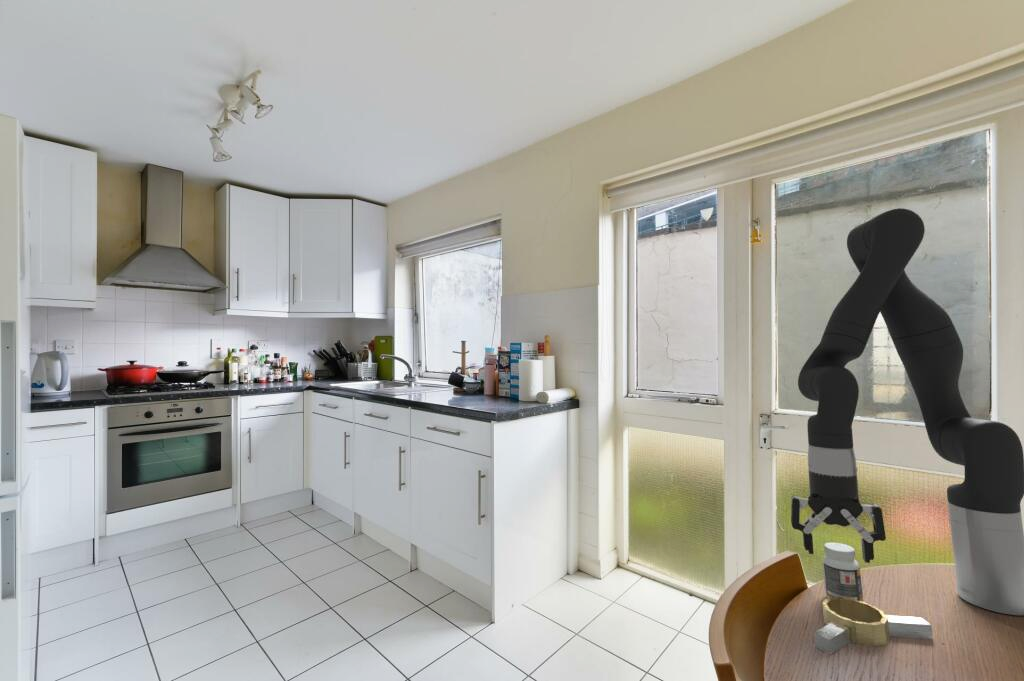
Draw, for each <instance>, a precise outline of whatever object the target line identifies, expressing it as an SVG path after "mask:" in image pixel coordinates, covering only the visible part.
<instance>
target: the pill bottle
mask: <svg viewBox="0 0 1024 681" xmlns="http://www.w3.org/2000/svg"><path fill="white" fill-rule="evenodd" d="M823 550H824V553H825V554H826V555H824V556H823V557H822V567H823V569H822V571H823V580H824V581H823V582H824V591H825V596H826V598H832V597H844V598H852V599H856V600H859V601H862V602H864V595H863V594H864V593H863V587H862V577H861V576H862V575H861V567H860V563H859V562H858V561H857V560H856V559H855V558H856V550H855V548H854V547H853V546H850V545H848V544H845V543H839V542H834V541H833V542H830V541H829V542H825V543H824V546H823Z"/></svg>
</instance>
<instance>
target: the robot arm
mask: <svg viewBox="0 0 1024 681" xmlns="http://www.w3.org/2000/svg"><path fill="white" fill-rule="evenodd" d="M925 230H926V229H925V223H924V221H923V219H922V218H921V216H920V215H919V214H918V213H917V212H915V211H914V210H912V209H909V208H900V207H899V208H892V209H888V210H886V211H883V212H881V213H878V214H877V215H874V216H872V217H871V218H869V219H867V220H864V221H863V222H861V223H859V224H857V225H855V226H854V227H852V228H851V229H850V231H849V233H848V235H847V238H846V248H847V251H848V253H849V256H850V258H851V260H852V261H853V264H854V265H855V267H856V269H857V270H858V272H859V275H858V276H857V278H856V279H855V281H854V282H853V283H852V285H851V286H850V287H849V289H848V290H847V291H846V293H845V294H844V295H843V296H842V298H841V299H840V300H839V302H838V303H837V304H836V306H835V308H834V309H833V310H832V313H831V315H830V316H829V319H828V322H827V323H826V325H825V329H824V330H823V331H824V332H823V333H822V336H821V339H820V341H819V344H818V345H817V346H816V347H815V349H814V350H813V351H812V352H811V354H810V355H809V357H808V358H807V360H806V361H805V363H803V364H804V365H803V366H802V367H801V370H800V372H799V373H798V379H797V387H798V390H799V392H800V394H801V395H802V396H803V397H804V398H806V399H808V400H811V401H815V402H818V404H817V412H816V414H813V415H811V416H809V417H808V419H807V441H808V442H807V443H808V445H807V446H808V449H807V450H808V451H807V463H808V464H807V466H808V482H809V496H808V497H807V498H806V497H805V498H804V497H799V496H798V495H796V494H792V496H791V499H790V500H791V502H790V504H791V506H790V511H791V512H790V522H791V527H792V528H793V529H794V530H798V531H800V532H801V533H802V542H803V547H804V550H805V551H808V554H809V555H814V542H813V534H812V532H813V531H814V530H815V529H816V528H817V527H819V526H820V525H821V524H822V522H823V523H825V524H826V525H830V526H833V525H837V526H840V527H846V528H847V527H848V526H852V527H853V528H854V530H855V531H857V533H858V534H859V535H860V536H861V537H862V538H861V540H860V541H861V550H862V551H861V552H862V554H861V555H862V560H863V561H864V563H867V564H870V563H871V561H874V560H875V559H874V558H875V551H874V543H875V542H877V541H881V542H884V541H886V540H887V537H886V530H885V522H884V516H883V511H882V510H883V509H882V508H881V507H880V506H879V504H877V503H875V502H872V503H871V504H863V503H862V504H861V502H860V500H859V499H860V497H859V486H858V485H859V483H858V466H857V458H856V454H855V448H854V438H853V436H854V435H853V426H852V425H853V423H854V422H853V421H854V419H855V415H856V410H857V405H858V400H859V396H860V393H859V392H860V391H859V390H860V389H859V384H858V380H857V378H856V376H855V374H854V373H853V372H852V371H851V370H849V369H848V368H846V365H847V364H849V363H850V362H852V361H854V360H857V359H859V358H860V357H861V356H862V355H863V353H864V351H865V349H866V346H867V343H868V341H869V339H870V336H871V333H872V331H873V329H874V326H875V323H876V321H877V319H878V316H879V315H880V314H881V317H882V318H883V320H884V324H885V326H886V328H887V331H888V334H889V336H890V338H891V341H892V343H893V345H894V348H895V350H896V353H897V355H898V357H899V359H900V361H901V363H902V365H903V366H904V367H903V368H904V370H905V372H906V374H907V377H908V380H909V382H910V384H911V387H912V389H913V391H914V395H915V397H916V399H917V400H916V401H917V403H918V405H919V409H920V412H921V416H922V418H923V423H924V427H925V430H926V432H927V433H926V434H927V437H928V440H929V442H930V444H931V446H932V448H933V450H934V451H935V453H936V454H938V456H939V457H941V458H942V459H943V460H945V461H947V462H948V463H952V464H954V465H955V464H956V465H959V466H964V480H963V482H961V483H955V484H951V485H949V486H947V489H946V497H947V498H946V499H947V507H948V515H949V523H950V524H949V526H950V534H951V535H950V536H951V543H952V552H953V561H954V562H953V563H954V572H955V579H956V589H957V596H959V597H960V598H961V599H962V600H964V601H965V602H967V603H969V604H971V605H974V606H976V607H978V608H981V609H985V610H988V611H992V612H995V613H999V614H1004V615H1005V614H1006V615H1011V616H1024V526H1023V520H1022V519H1023V517H1022V511H1021V510H1022V509H1021V508H1022V507H1021V502H1022V500H1023V498H1024V449H1023V445H1022V441H1021V440H1020V437H1019V436H1018V434H1017V433H1016V431H1015V430H1014V429H1013V428H1011V427H1010V426H1009V425H1007V424H1005V423H1002V422H1000V421H996V420H990V419H989V420H988V419H981V418H975V417H972V416H971V415H970V412H968V409H967V407H966V405H965V403H964V400H963V398H962V396H961V392H960V388H959V382H960V381H959V380H960V375H961V370H962V367H963V361H964V360H963V359H964V347H963V343H962V340H961V339H960V336H959V333H958V331H957V329H956V326H955V325H954V323H953V320H952V318H951V317H950V315H949V314H948V313H947V311H946V310H945V309H944V308H943V307H942V306H941V305H939V304H938V303H937V302H936V301H935V300H934V299H933V298H931V297H930V296H929V295H928V294H926V293H925V292H923V291H922V290H921V289H920V288H918V287H917V285H915V284H914V283H913V281H911V279H910V278H909V276H908V274H907V273H906V271H905V268H906V267H907V266H908V264H909V263H910V261H911V259H912V258H913V256H914V255H915V253H916V252H917V251H918V249H919V247H920V245H921V244H922V241H923V239H924V237H925ZM807 505H808V507H809V508H810V509H811V510H812V511H813V512H812V513H811V514H810V515H809V516H808V518H807V519H806V520H805V521H804V522H800V518H801V517H800V515H801V514H800V511H801V510H804V509H805V506H807ZM863 512H865V513H866V514H867V517H869V518H871V520H872V527H873V530H872V531H868V530H867V529H866V528H865V527H864V525H862V523H860V521H859V520H858V519H857V518H858V517H859V516H861V514H862V513H863Z"/></svg>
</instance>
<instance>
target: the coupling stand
mask: <svg viewBox="0 0 1024 681" xmlns="http://www.w3.org/2000/svg"><path fill="white" fill-rule="evenodd" d="M822 613H823V615H822V617H823V623H824V626H822V627H821V628H819V629H817V630H815V631H814V632H813V638H814V639H813V640H814V647H815V648H816V649H818V650H820V651H822V652H824V651H825V652H824V653H826V652H827V653H826V654H828V653H829V654H828V655H830V654H831V653H833V652H834V653H836V652H837V651H838V649H839V650H840V649H842V648H844V647H845V646H846V645H848V644H849V643H851V642H852V643H854V644H857V645H863V644H864V645H863V646H869V647H878V646H880V647H881V646H885V645H887V644H888V643H889V642H890V639H891V637H895V638H896V637H898V638H911V639H923V640H924V639H925V640H933V639H934V638H933V630H932V624H930V623H929V622H928V621H927V620H926V619H924V618H923V617H921V616H917V617H916V616H908V615H907V616H905V615H891V614H885V613H884V611H883V610H882V609H879V608H878V607H876V606H874V605H872V604H871V603H867V602H865V601H863V602H862V601H859V600H856V599H852V598H844V597H832V598H827V597H826V598H825V599H824V600H823V602H822ZM835 651H836V652H835ZM834 653H833V654H834ZM831 655H832V654H831Z"/></svg>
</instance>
